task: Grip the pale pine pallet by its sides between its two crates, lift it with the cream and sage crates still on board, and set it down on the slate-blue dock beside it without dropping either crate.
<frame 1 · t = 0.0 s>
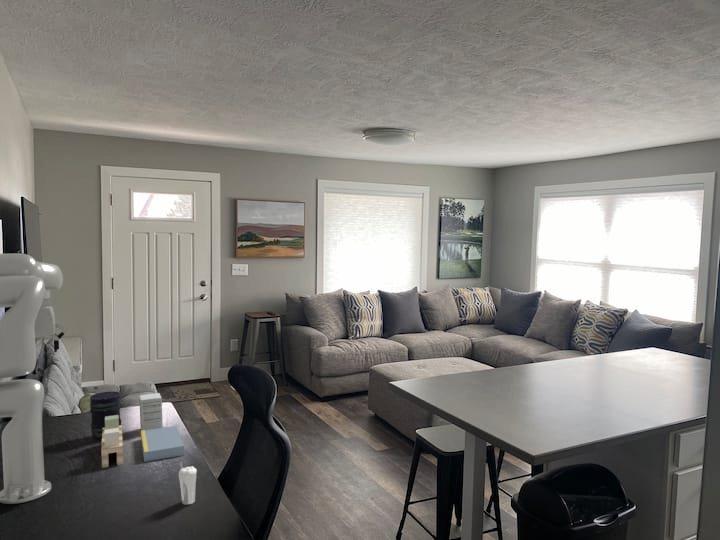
hand: (39, 352, 189), 31 cm above the table, tool pointing down, fingers open, 9 cm apart
crate sage: (112, 429, 184), point 6 cm above the table, touching pallet
pallet: (112, 454, 178), on the table, touching crate sage
supplement box: (151, 430, 201), on the table
storage jar: (106, 437, 194), on the table
milkshake: (187, 502, 144), on the table
crate cream: (112, 443, 171), point 6 cm above the table
dock: (161, 446, 183), on the table
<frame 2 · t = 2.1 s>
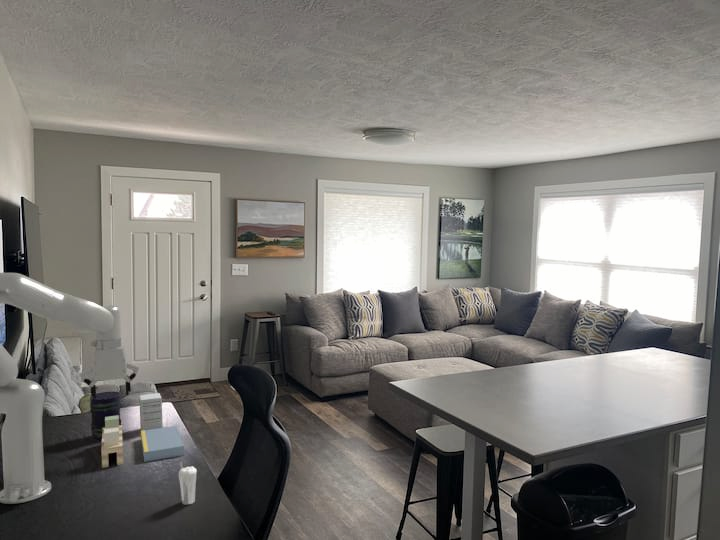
hand: (111, 396, 177), 19 cm above the table, tool pointing down, fingers open, 9 cm apart
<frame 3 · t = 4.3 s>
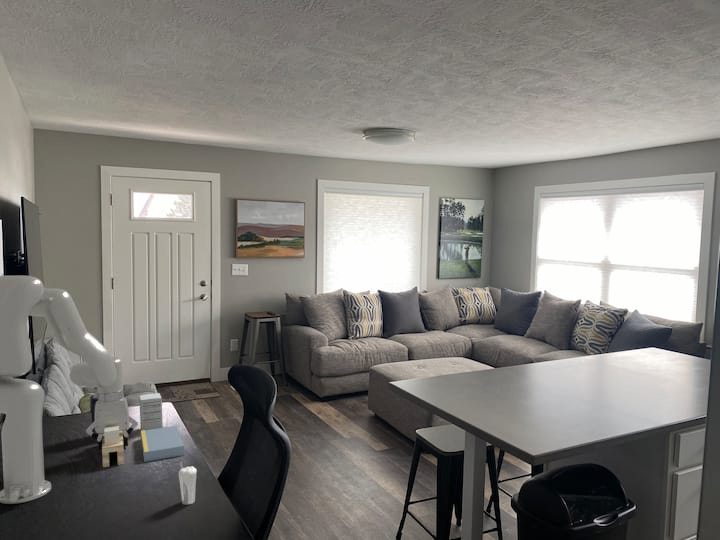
hand: (113, 449, 178), 1 cm above the table, tool pointing down, fingers closed on pallet, 6 cm apart
pallet: (113, 453, 178), on the table, touching crate cream, crate sage, gripper
crate cream: (112, 442, 172), point 6 cm above the table, touching pallet
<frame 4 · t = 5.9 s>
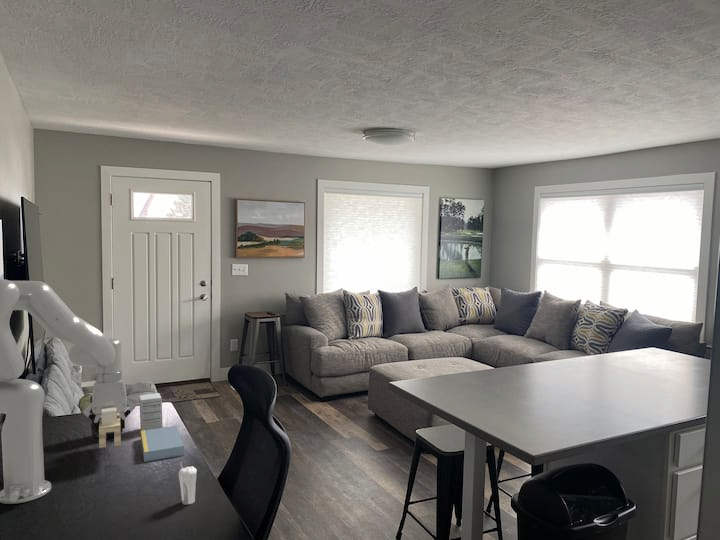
hand: (110, 431, 177), 7 cm above the table, tool pointing down, fingers closed on pallet, 6 cm apart
crate sage: (110, 412, 183), point 12 cm above the table, touching pallet
pallet: (110, 436, 177), point 6 cm above the table, touching crate cream, crate sage, gripper
crate cream: (109, 423, 171), point 12 cm above the table, touching pallet
everything else where it was.
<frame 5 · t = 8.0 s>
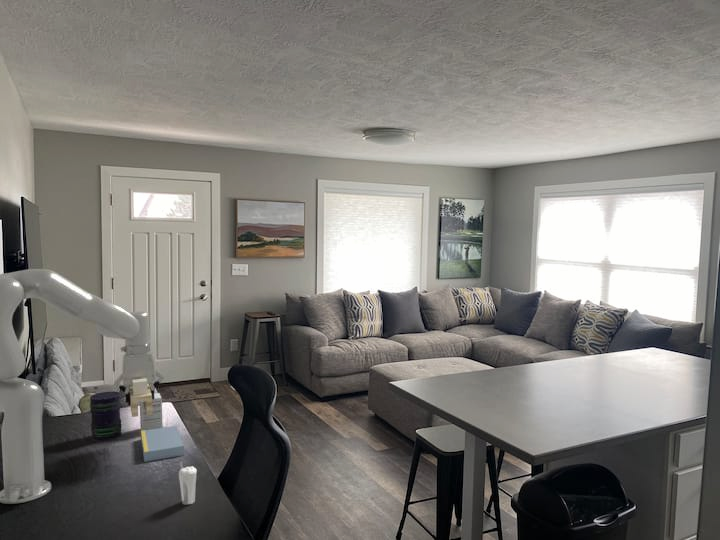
hand: (140, 402, 180), 16 cm above the table, tool pointing down, fingers closed on pallet, 6 cm apart
crate sage: (138, 384, 186), point 21 cm above the table, touching pallet
pallet: (140, 406, 180), point 15 cm above the table, touching crate cream, crate sage, gripper
crate cream: (140, 393, 174), point 21 cm above the table, touching pallet
everything else where it was.
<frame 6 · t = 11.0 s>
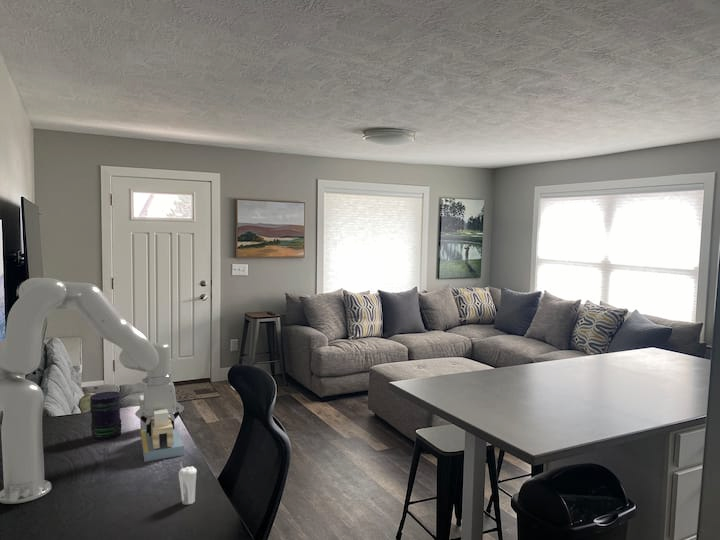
hand: (160, 432, 183), 5 cm above the table, tool pointing down, fingers closed on pallet, 6 cm apart
crate sage: (159, 413, 189), point 10 cm above the table, touching pallet
pallet: (160, 436, 183), point 4 cm above the table, touching crate cream, crate sage, gripper
crate cream: (161, 424, 177), point 10 cm above the table, touching pallet
everything else where it was.
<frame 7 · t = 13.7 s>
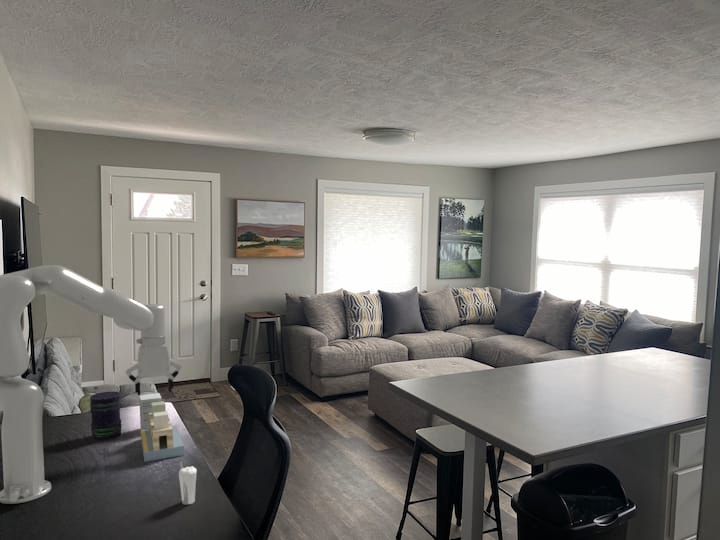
hand: (154, 392, 181), 19 cm above the table, tool pointing down, fingers open, 9 cm apart
pallet: (160, 438, 183), point 3 cm above the table, touching crate cream, crate sage, dock
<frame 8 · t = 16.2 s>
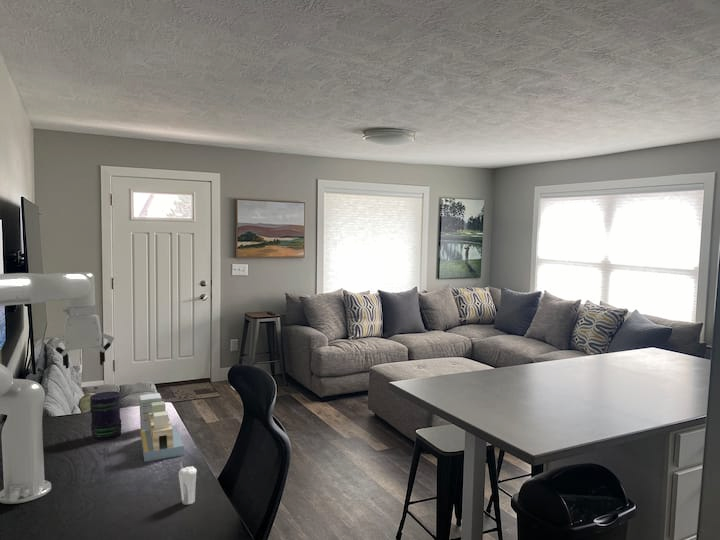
hand: (84, 366, 171), 30 cm above the table, tool pointing down, fingers open, 9 cm apart
nothing on the table moved.
at the end: pallet inside the target area (0.6 cm from its centre), point 3.0 cm above the table; crate cream touching pallet; crate sage touching pallet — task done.
